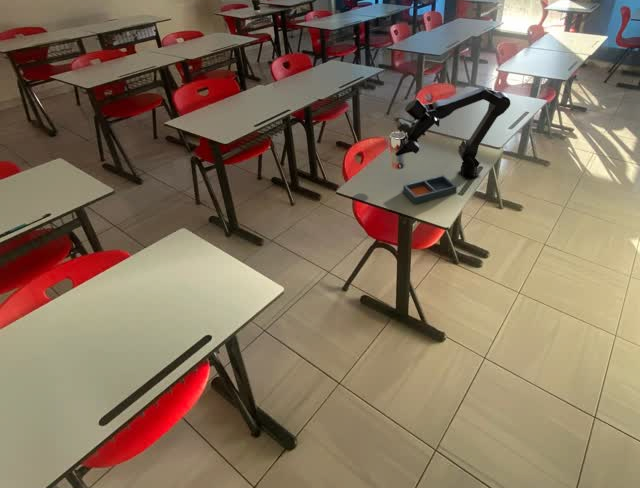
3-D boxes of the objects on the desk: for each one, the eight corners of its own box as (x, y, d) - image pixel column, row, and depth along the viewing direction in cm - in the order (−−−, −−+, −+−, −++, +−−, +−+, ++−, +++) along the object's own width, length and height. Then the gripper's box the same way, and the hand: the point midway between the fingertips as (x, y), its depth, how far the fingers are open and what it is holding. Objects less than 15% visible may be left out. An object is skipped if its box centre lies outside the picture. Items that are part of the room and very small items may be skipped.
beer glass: (408, 163, 181) (408, 133, 173) (402, 171, 176) (402, 140, 167) (394, 160, 183) (393, 130, 175) (387, 168, 178) (386, 137, 170)
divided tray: (442, 181, 180) (443, 175, 178) (455, 192, 172) (456, 186, 171) (403, 191, 173) (403, 185, 171) (414, 204, 165) (415, 197, 164)
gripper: (405, 105, 175) (379, 130, 180) (411, 123, 159) (383, 150, 164) (422, 121, 180) (397, 145, 185) (431, 140, 164) (403, 166, 169)
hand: (395, 151), depth 175 cm, fingers closed on beer glass, 7 cm apart
